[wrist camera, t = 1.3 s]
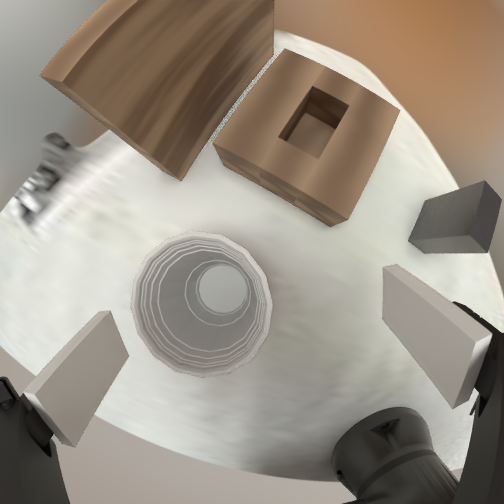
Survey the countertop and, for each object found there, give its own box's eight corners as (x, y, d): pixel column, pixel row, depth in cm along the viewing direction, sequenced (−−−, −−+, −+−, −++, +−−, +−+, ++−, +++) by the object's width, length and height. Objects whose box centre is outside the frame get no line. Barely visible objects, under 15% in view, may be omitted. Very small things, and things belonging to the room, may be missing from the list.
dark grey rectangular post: (440, 213, 29) (501, 199, 17) (424, 253, 29) (487, 253, 17) (424, 200, 29) (484, 180, 17) (407, 240, 29) (469, 235, 17)
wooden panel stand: (387, 114, 30) (474, 9, 8) (312, 257, 30) (416, 267, 8) (254, 47, 31) (243, -79, 9) (162, 170, 31) (39, 75, 9)
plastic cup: (244, 222, 30) (230, 202, 18) (286, 309, 30) (298, 343, 18) (161, 264, 31) (106, 270, 19) (202, 346, 31) (169, 394, 19)
